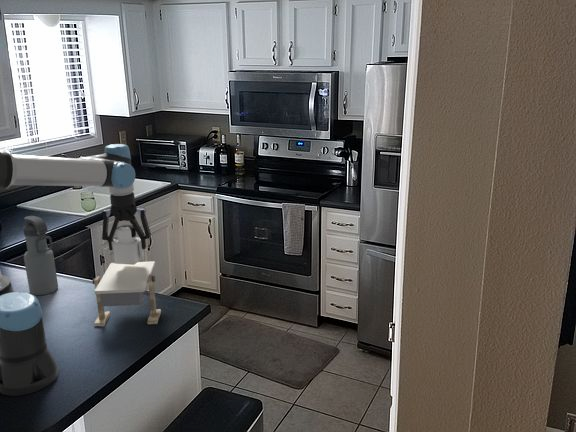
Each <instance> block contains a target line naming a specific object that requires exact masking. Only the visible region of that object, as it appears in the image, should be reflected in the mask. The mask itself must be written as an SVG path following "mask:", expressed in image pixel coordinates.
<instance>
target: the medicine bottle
mask: <svg viewBox="0 0 576 432" xmlns="http://www.w3.org/2000/svg"><path fill="white" fill-rule="evenodd" d="M115 233H116V238H117V239H116V242H114V243H113V251H112V254H113V253H114V259H113V261H114V263H115V264H130V265H135V264H136V263H137V262H140V250H139V239H140V237H137V232H136V230H135V229H134V227H133V225H132V224H123V225H119V226H117V229H116V232H115Z"/></svg>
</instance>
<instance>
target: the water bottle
mask: <svg viewBox="0 0 576 432" xmlns="http://www.w3.org/2000/svg"><path fill="white" fill-rule="evenodd" d="M23 219H24V221H25V225H24V226H23V227H22V230H23V234H24V235H23V236H24V237H25V242H26V243H25V244H26V250H27V251H25V253H24V254H23V261H24V266H25V267H24V268H25V273H26V279H27V284H28V285H27V286H28V290H29V293H30V294H32V295H34V296H46V295H49V294H52V293H54V292H55V291H57V289H58V288H59V283H58V277H57V276H58V275H57V269H56V264H55V257H54V252H53V250H52V249H53V248H54V246H53V238H52V237H51V236H49V235H47V233H48V226H47V224H46V222H45V221H44V219H43V218H41V217H39V216H35V215H28V216H25V217H24V218H23ZM47 239H48V240H49V247H48V243H47Z"/></svg>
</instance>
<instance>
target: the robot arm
mask: <svg viewBox="0 0 576 432" xmlns="http://www.w3.org/2000/svg"><path fill="white" fill-rule="evenodd" d="M135 180H136V170H135V168H134V166H132V157H131V151H130V147H129V146H128V145H127V144H124V143H121V144H120V143H114V144H109V145H106V146H105V147H104V152H103V153H100V154H95V155H89V156H80V157H77V158H73V157H60V156H59V157H55V156H45V155H44V156H40V155H27V154H12V153H11V152H10V151H9V150H8V149H0V190H6V189H9V188H10V187H11V186H46V187H47V186H48V187H49V186H54V187H56V186H57V187H58V186H59V187H60V186H61V187H64V186H65V187H101V188H102V187H104V188H105V187H106V188H108V189H109V193H110V194H109V199H110V206H111V207H110V209H105V208H104V210H103V211H101V215H102V219H103V220H102V231H101V232H102V233H101V240H103V241H106V242H107V243H108V248H109V251H112V257H113V260H114V253H113V243H114V242H116V241H117V239H114V237H115V235H116V233H117V232H116V229H117V228H118V227H119V222H123V221H125V222H129V223H130V225H132V226H133V227H134V229H135V230H136V235H138V238H140V239H139V250H140V260H144V258H145V251H144V250H146V248H147V240H148V239H150V237H151V235H152V234H151V230H150V226H149V223H148V220H147V216H146V211H147V210H146V208H145V207H142V208H138V207H137V206H136V199H135V192H134V190H135V189H134V184H135V183H134V182H135ZM136 213H137V214H138V216H139V217H140V221H141V225H142V227H141V226H140V224H139V222H138V220H137V217H136V216H135V214H136ZM111 214H112V216H113V217H114V221H113V224H112V226H111V230H110V232H109V220H110V216H111ZM142 228H143V229H142ZM108 233H109V234H108ZM140 260H139V261H140ZM58 377H59V368H58V363H57V362H56V359H55V358H54V356H53V355H52V353H51V352H50V350H49V348H48V345H47V339H46V332H45V325H44V318H43V309H42V307H41V304H40V301H39V299H38V297H36V295H34V294H31V293H30V292H25V291H22V292H20V291H14V287H13V286H12V283H11V279H10V277H8V276H6V275H4V274H2V270H1V269H0V394H2V395H5V396H11V397H14V396H15V397H16V396H25V395H30V394H34V393H36V392H39V391H41V390H43V389H45V388H46V387H48V386H50V385H51V384H52V383H53V382H55V381H56V379H57V378H58Z"/></svg>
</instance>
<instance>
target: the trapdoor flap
mask: <svg viewBox="0 0 576 432" xmlns="http://www.w3.org/2000/svg"><path fill="white" fill-rule="evenodd" d="M155 265H156V261H154V260H153V261H138V262H137V263H136V264H135V265H130V264H115V262H111V263H109V266H108V267H107V269H106V271H105V272H104V274H103V276H102V277H101V278H100V282H99V284H98V286H97V288H96V289H94V295H96V294H100V298H101V305H102V306H104V307H120V306H121V307H123V306H141V305H142V302H143V300H144V295H145V294H144V293H145V291H146V288H147V287H148V285H149V283H148V277H149V275H150V274H153V270H154V268H155Z"/></svg>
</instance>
